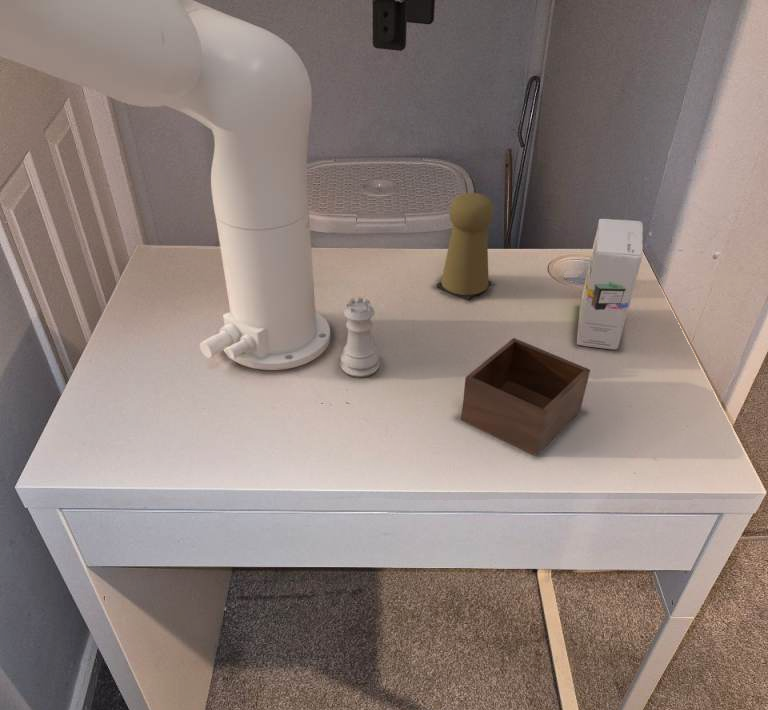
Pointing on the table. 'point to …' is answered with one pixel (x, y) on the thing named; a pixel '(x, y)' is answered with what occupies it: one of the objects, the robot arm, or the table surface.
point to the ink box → (610, 282)
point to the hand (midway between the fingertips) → (404, 35)
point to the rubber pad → (459, 294)
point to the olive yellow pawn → (468, 245)
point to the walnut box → (524, 395)
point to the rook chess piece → (359, 340)
